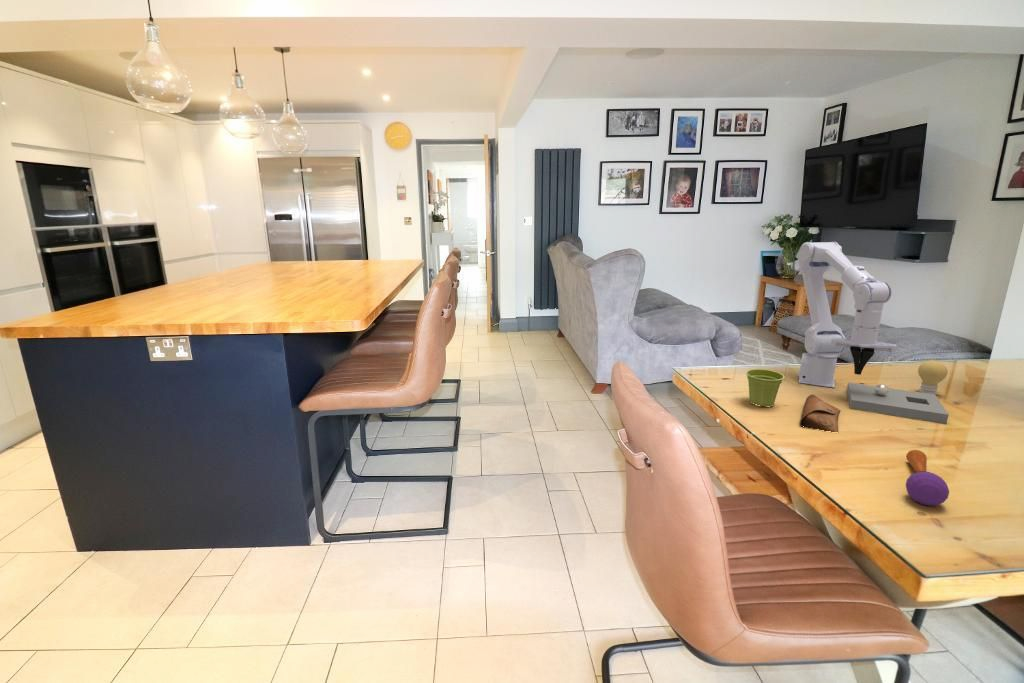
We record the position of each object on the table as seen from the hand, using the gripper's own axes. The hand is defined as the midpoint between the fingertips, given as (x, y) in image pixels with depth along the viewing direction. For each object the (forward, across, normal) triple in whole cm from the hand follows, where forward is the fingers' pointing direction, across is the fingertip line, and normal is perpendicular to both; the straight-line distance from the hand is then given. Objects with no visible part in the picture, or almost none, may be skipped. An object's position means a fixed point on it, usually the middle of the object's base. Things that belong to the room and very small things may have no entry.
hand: (857, 373), depth 135 cm
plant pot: (+8, -22, -16) cm, 28 cm away
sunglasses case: (+9, -8, -19) cm, 22 cm away
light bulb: (+8, +19, +16) cm, 26 cm away
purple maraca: (+8, +8, -46) cm, 48 cm away
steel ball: (+4, +6, 0) cm, 7 cm away
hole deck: (+8, +9, 0) cm, 12 cm away
